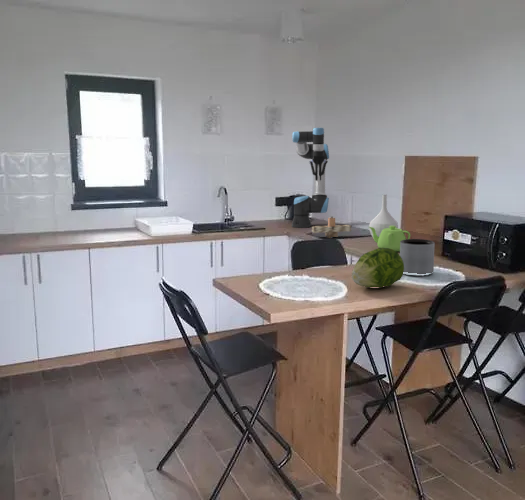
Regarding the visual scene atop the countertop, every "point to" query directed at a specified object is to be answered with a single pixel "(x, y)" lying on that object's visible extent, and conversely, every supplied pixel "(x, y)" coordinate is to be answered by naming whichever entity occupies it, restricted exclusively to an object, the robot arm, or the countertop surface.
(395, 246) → the teapot
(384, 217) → the vase
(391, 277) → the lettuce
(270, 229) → the countertop surface
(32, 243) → the countertop surface
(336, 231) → the beam
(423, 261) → the planter
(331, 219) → the block
